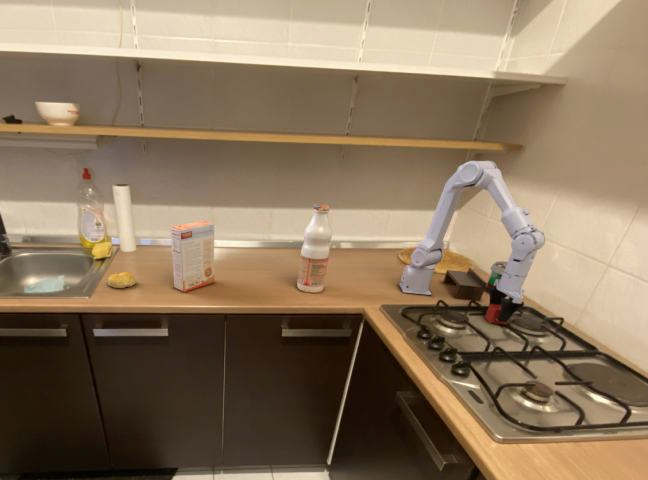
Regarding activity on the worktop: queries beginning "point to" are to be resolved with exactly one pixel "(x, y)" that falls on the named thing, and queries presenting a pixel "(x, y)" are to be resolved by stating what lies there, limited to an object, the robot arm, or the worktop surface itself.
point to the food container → (496, 273)
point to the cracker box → (193, 255)
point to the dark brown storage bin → (466, 284)
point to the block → (494, 314)
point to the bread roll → (121, 280)
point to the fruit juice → (315, 251)
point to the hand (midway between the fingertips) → (497, 316)
